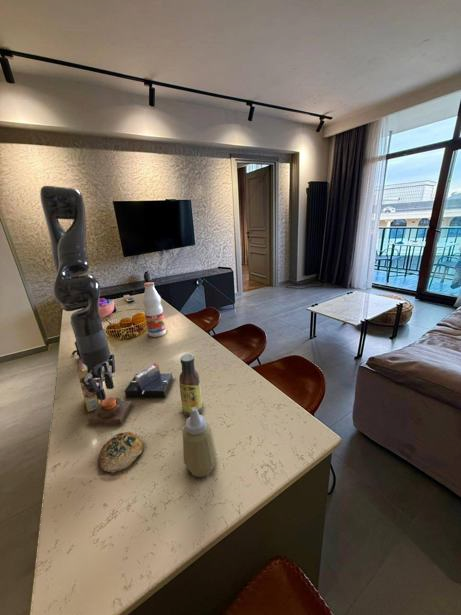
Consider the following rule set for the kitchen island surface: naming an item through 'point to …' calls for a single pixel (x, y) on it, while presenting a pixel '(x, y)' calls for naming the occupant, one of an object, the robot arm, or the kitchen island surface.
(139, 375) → the silver flat block
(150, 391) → the tap base
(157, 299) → the fruit juice
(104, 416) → the button block
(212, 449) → the squeeze bottle
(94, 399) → the candy box
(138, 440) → the bread roll
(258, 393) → the kitchen island surface
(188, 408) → the sauce bottle
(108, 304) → the soup bowl
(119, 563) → the kitchen island surface
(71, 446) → the kitchen island surface
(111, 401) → the button
